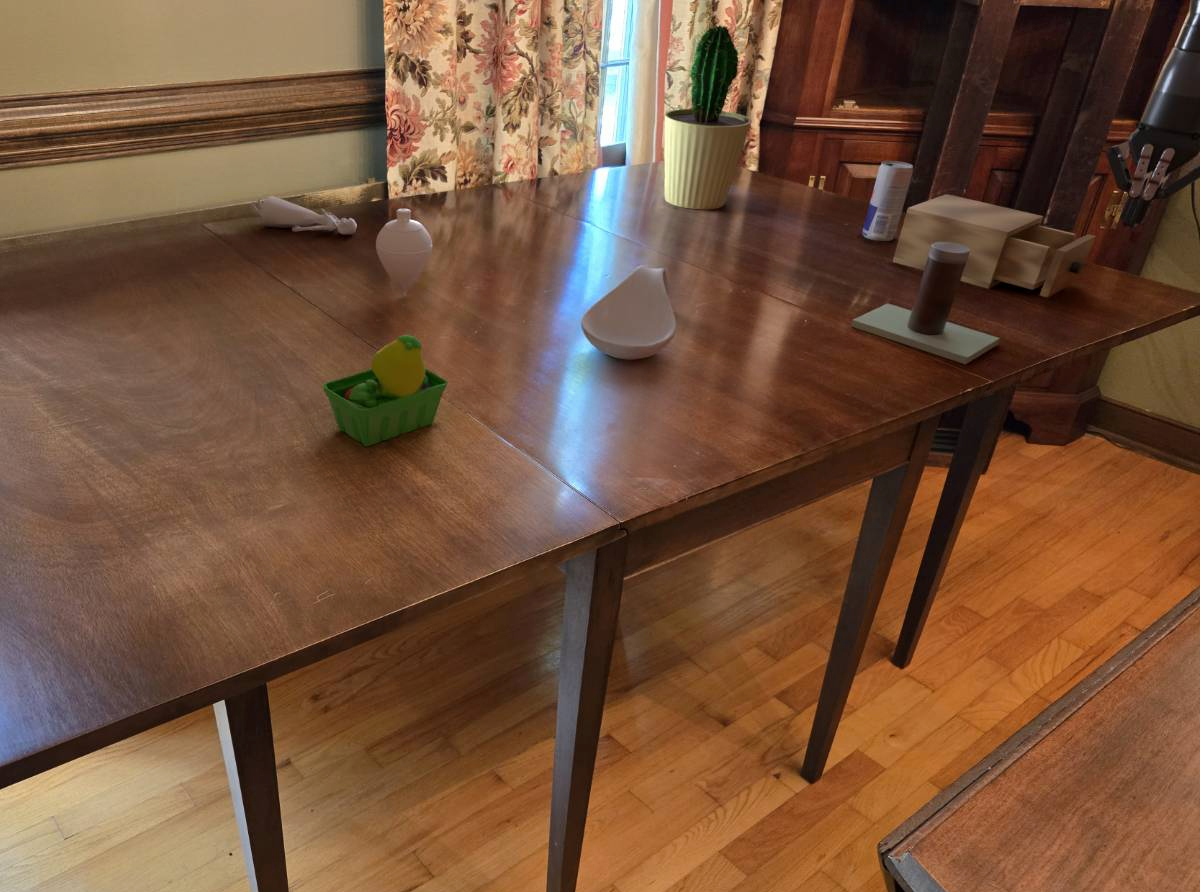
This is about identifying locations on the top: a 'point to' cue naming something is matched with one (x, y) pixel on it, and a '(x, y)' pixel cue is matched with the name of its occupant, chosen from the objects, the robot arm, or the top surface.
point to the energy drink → (887, 200)
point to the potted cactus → (705, 129)
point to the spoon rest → (632, 316)
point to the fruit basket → (387, 394)
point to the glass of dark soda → (938, 287)
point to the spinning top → (404, 249)
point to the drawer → (1043, 259)
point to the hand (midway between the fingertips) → (1129, 225)
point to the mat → (949, 344)
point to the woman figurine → (299, 217)
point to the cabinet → (961, 234)
